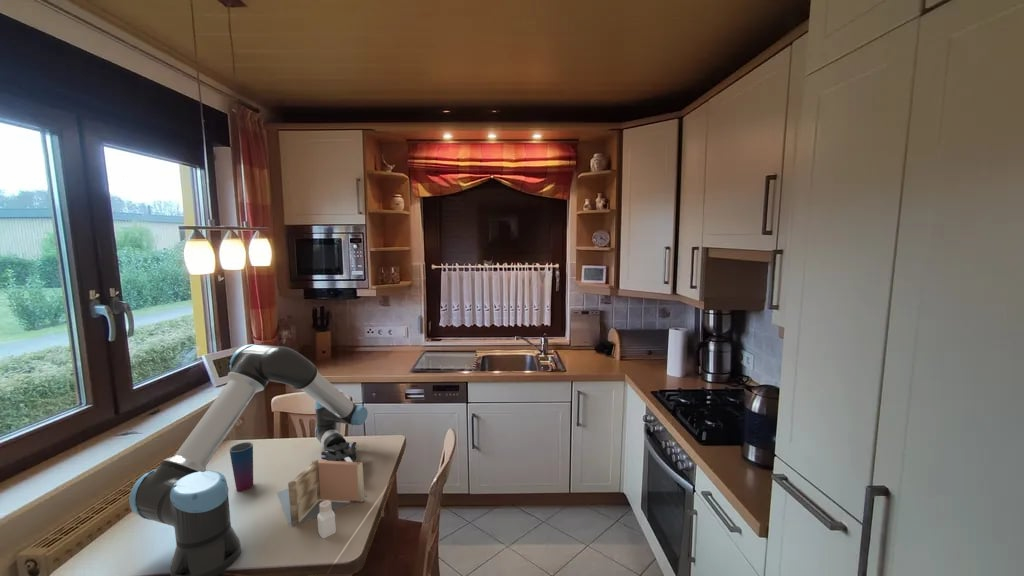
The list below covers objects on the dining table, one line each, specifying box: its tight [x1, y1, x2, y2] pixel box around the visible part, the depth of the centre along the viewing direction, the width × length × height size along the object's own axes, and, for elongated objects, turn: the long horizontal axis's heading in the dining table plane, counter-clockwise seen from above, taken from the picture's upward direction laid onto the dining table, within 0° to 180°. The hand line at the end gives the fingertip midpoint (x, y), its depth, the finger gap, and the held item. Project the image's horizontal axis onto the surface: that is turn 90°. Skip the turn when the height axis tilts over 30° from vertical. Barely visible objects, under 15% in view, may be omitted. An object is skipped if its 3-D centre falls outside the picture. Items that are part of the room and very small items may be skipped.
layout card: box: [276, 488, 367, 528], centre depth 138 cm, size 23×22×1 cm
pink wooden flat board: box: [318, 459, 365, 503], centre depth 134 cm, size 15×2×13 cm, turn 83°
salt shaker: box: [316, 500, 337, 539], centre depth 119 cm, size 4×4×10 cm
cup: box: [229, 441, 254, 492], centre depth 142 cm, size 7×7×15 cm
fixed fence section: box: [287, 459, 320, 526], centre depth 129 cm, size 14×2×13 cm, turn 174°
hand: (352, 468), depth 142 cm, fingers closed
